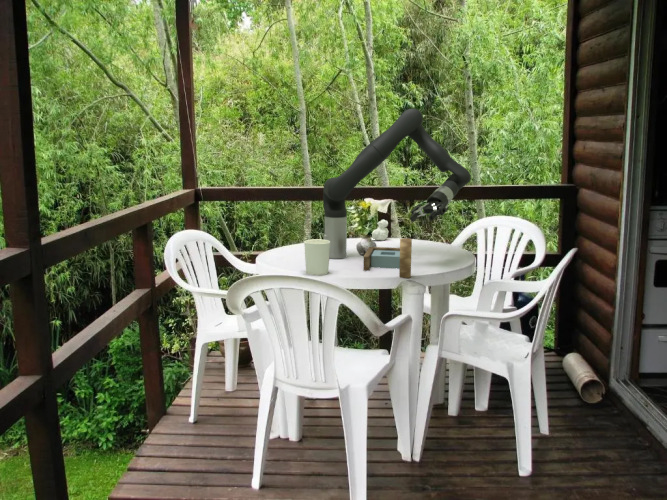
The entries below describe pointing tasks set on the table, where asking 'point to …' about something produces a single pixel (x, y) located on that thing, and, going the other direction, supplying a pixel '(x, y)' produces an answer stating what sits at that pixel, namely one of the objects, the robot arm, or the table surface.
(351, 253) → the table surface
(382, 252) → the socket block
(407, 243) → the oak dowel
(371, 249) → the backstop fence
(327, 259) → the candle holder
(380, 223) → the duck figurine
